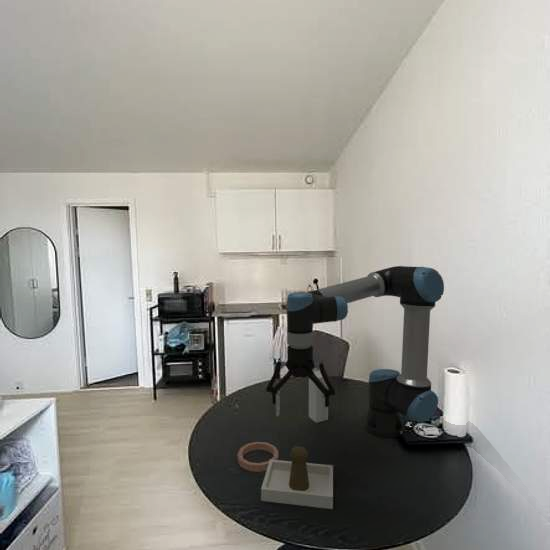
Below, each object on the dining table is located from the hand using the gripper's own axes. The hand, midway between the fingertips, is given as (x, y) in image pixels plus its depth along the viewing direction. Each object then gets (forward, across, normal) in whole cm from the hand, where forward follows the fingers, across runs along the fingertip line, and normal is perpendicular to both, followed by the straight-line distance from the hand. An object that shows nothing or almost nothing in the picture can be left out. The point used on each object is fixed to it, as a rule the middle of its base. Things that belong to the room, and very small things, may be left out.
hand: (300, 415), depth 102 cm
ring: (+22, +16, -11) cm, 29 cm away
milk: (+22, -4, -43) cm, 48 cm away
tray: (+22, +1, +1) cm, 22 cm away
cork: (+21, 0, +1) cm, 21 cm away
